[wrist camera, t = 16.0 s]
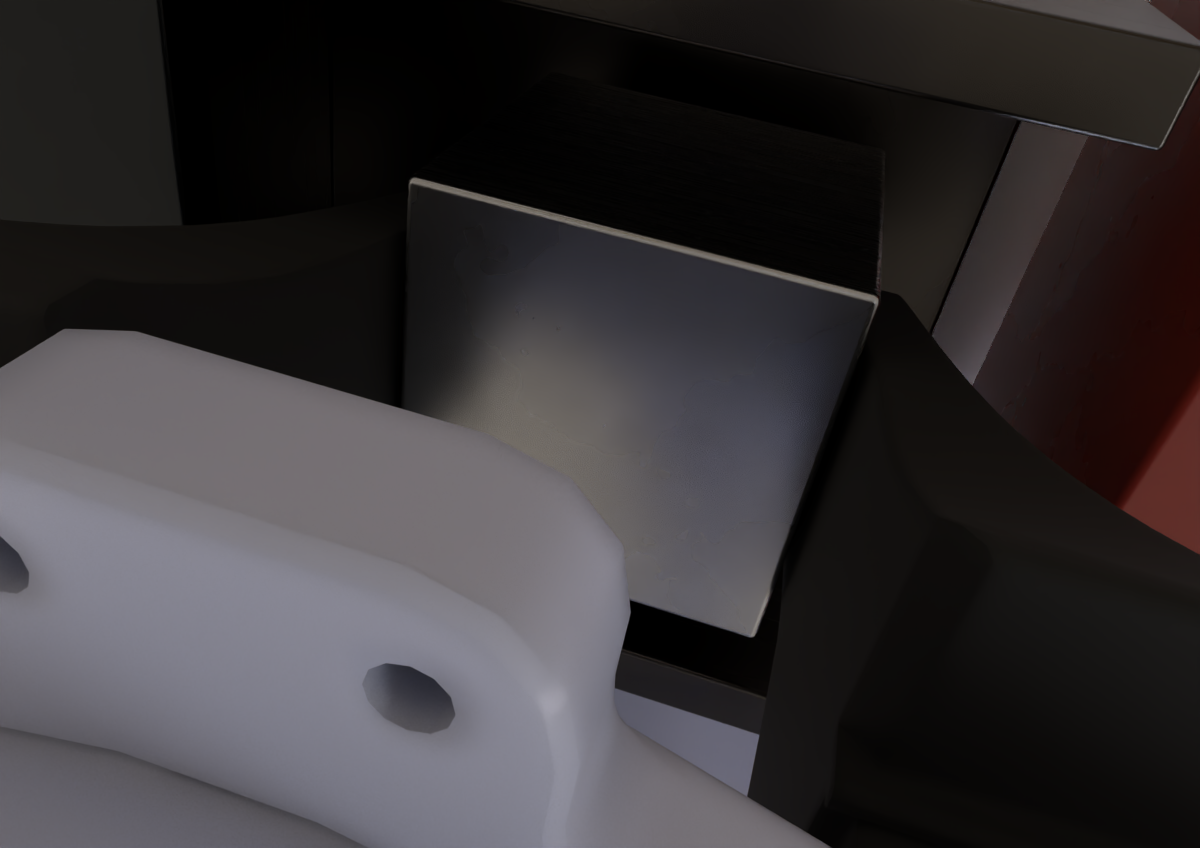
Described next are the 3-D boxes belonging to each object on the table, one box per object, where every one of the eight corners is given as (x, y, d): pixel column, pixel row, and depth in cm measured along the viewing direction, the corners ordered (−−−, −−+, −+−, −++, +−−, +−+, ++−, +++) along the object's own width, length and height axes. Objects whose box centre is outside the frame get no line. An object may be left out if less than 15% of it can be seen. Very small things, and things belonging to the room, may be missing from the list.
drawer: (1797, 42, 11) (2676, 262, 5) (1295, 623, 17) (1484, 1006, 11) (309, -249, 13) (-89, -293, 8) (324, 346, 19) (100, 553, 14)
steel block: (887, 148, 11) (883, 298, 8) (791, 431, 14) (754, 641, 10) (550, 68, 12) (405, 175, 8) (517, 356, 15) (394, 529, 11)
